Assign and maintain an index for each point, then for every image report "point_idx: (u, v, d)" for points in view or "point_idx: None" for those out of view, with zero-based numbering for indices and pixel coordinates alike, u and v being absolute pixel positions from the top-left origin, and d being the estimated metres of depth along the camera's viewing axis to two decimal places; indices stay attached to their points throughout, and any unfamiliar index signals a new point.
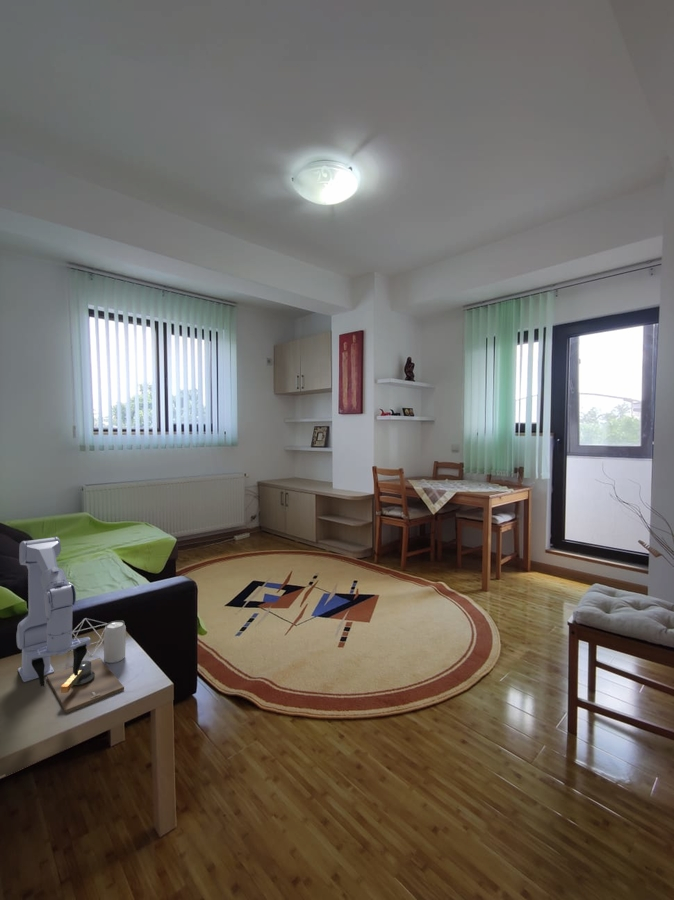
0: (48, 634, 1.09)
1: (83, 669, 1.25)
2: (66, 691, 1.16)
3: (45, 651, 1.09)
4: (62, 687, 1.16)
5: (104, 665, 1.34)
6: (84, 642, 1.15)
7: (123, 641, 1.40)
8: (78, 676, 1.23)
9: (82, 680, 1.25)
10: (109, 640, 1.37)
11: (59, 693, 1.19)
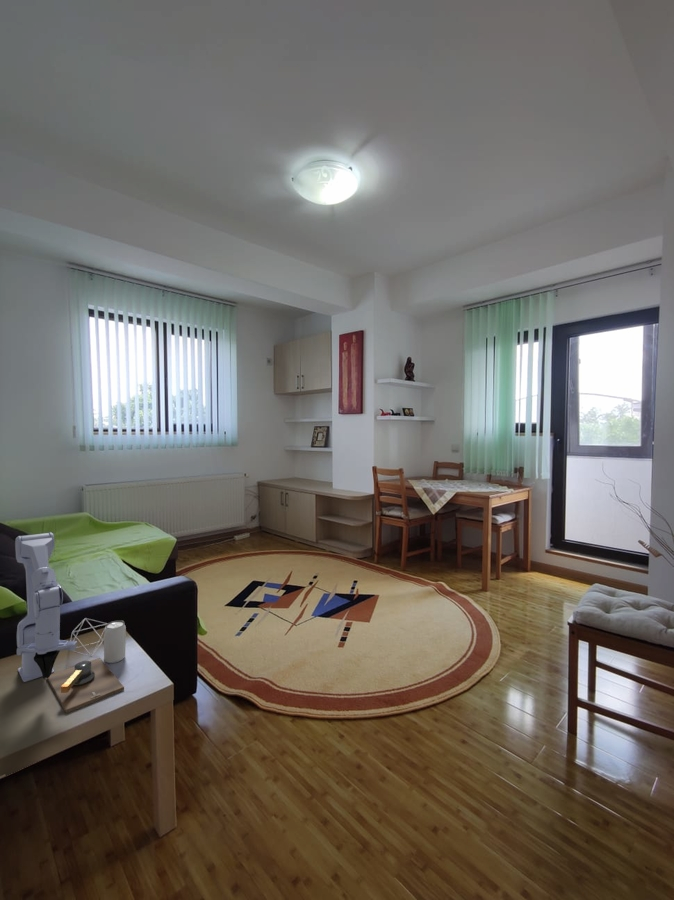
0: (35, 631, 1.16)
1: (83, 669, 1.25)
2: (66, 691, 1.16)
3: (34, 646, 1.16)
4: (62, 687, 1.16)
5: (104, 665, 1.34)
6: (68, 646, 1.18)
7: (123, 641, 1.40)
8: (78, 676, 1.23)
9: (82, 680, 1.25)
10: (109, 640, 1.37)
11: (59, 693, 1.19)
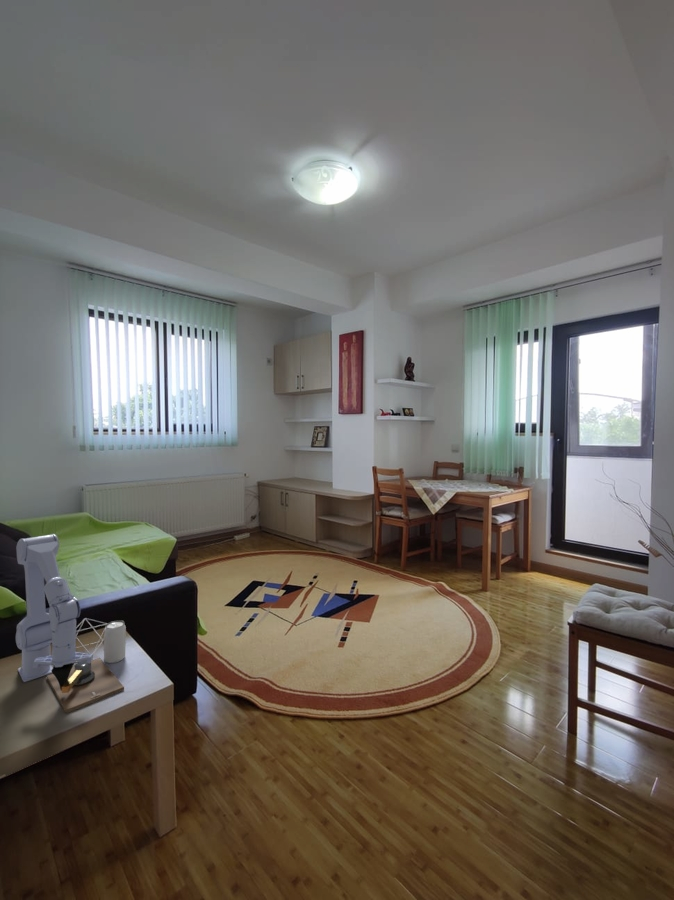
0: (52, 644, 1.17)
1: (83, 669, 1.25)
2: (67, 691, 1.16)
3: (51, 659, 1.17)
4: (63, 687, 1.16)
5: (104, 665, 1.34)
6: (84, 658, 1.19)
7: (123, 641, 1.40)
8: (78, 676, 1.23)
9: (82, 680, 1.25)
10: (109, 640, 1.37)
11: (59, 693, 1.19)
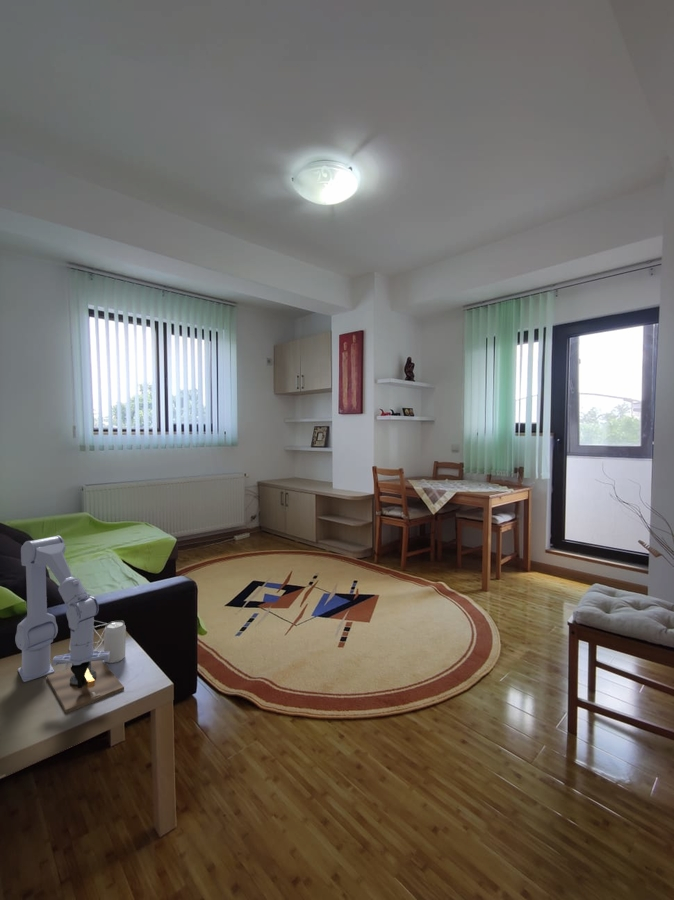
0: None
1: (88, 667, 1.26)
2: (93, 685, 1.20)
3: (69, 657, 1.19)
4: (89, 682, 1.19)
5: (104, 665, 1.34)
6: (101, 657, 1.20)
7: (123, 641, 1.40)
8: None
9: None
10: (109, 640, 1.37)
11: (59, 693, 1.19)
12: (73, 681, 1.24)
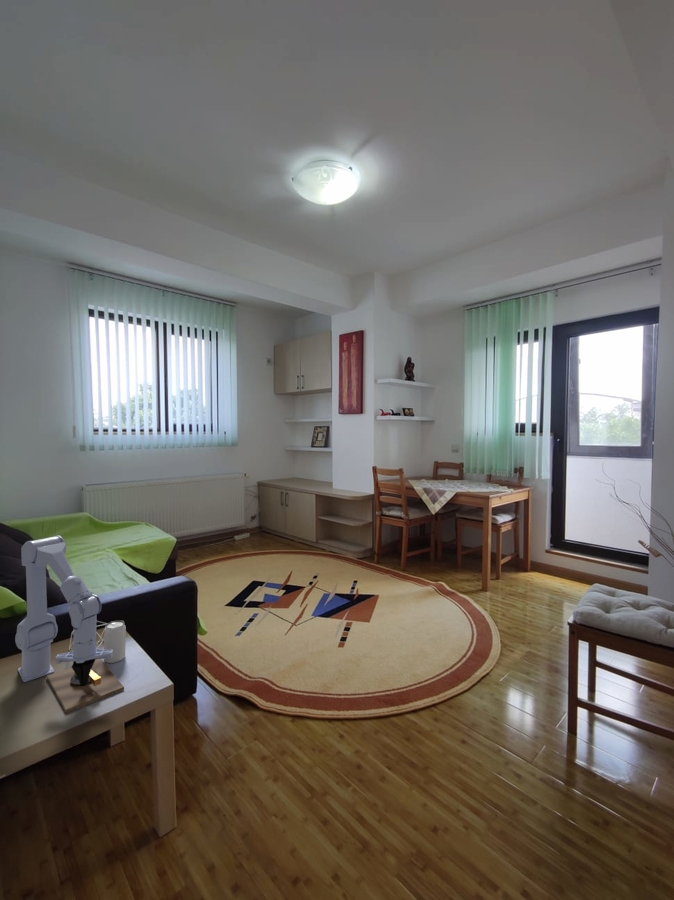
0: (73, 640, 1.18)
1: None
2: (100, 682, 1.21)
3: (72, 655, 1.19)
4: (96, 680, 1.20)
5: (104, 665, 1.34)
6: (104, 654, 1.20)
7: (123, 641, 1.40)
8: None
9: None
10: (109, 640, 1.37)
11: (59, 693, 1.19)
12: (75, 681, 1.24)
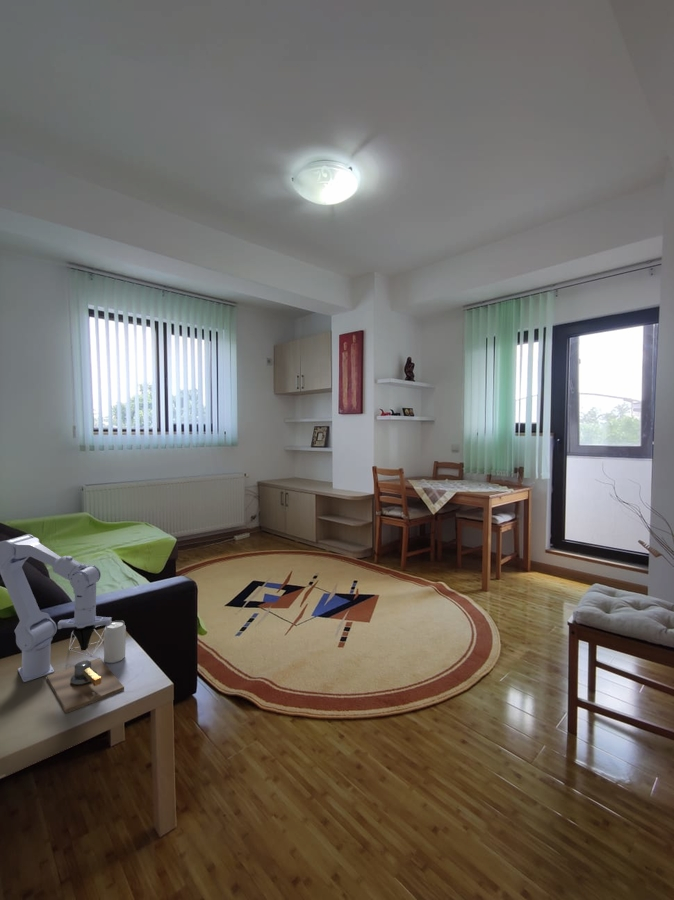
0: None
1: (89, 666, 1.27)
2: (100, 682, 1.21)
3: (73, 621, 1.27)
4: (96, 680, 1.20)
5: (104, 665, 1.34)
6: (103, 621, 1.28)
7: (123, 641, 1.40)
8: None
9: None
10: (109, 640, 1.37)
11: (59, 693, 1.19)
12: (75, 681, 1.24)
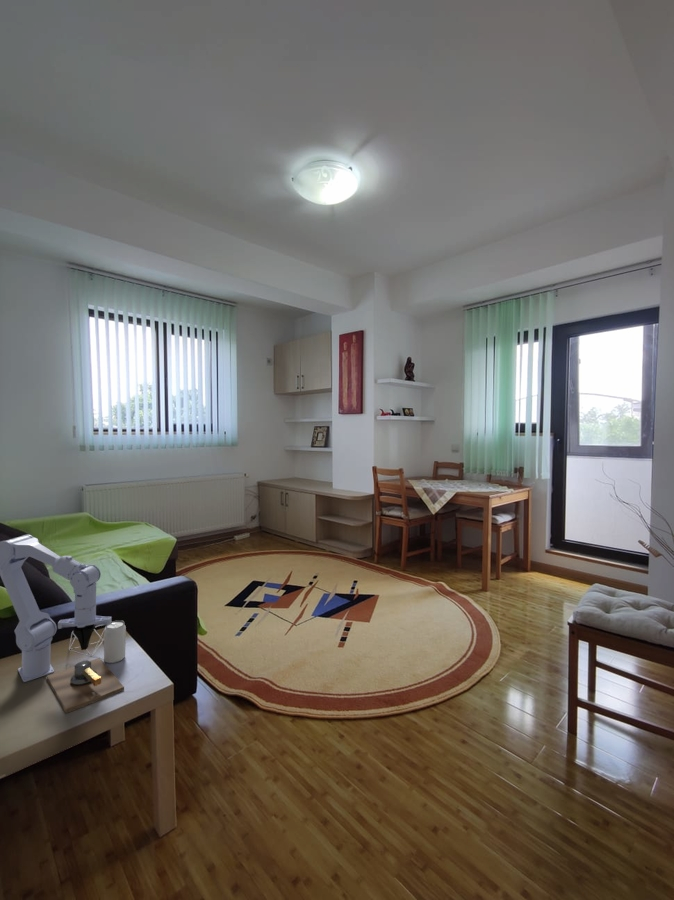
0: None
1: (89, 666, 1.27)
2: (100, 682, 1.21)
3: (73, 621, 1.27)
4: (96, 680, 1.20)
5: (104, 665, 1.34)
6: (104, 621, 1.29)
7: (123, 641, 1.40)
8: None
9: None
10: (109, 640, 1.37)
11: (59, 693, 1.19)
12: (75, 681, 1.24)
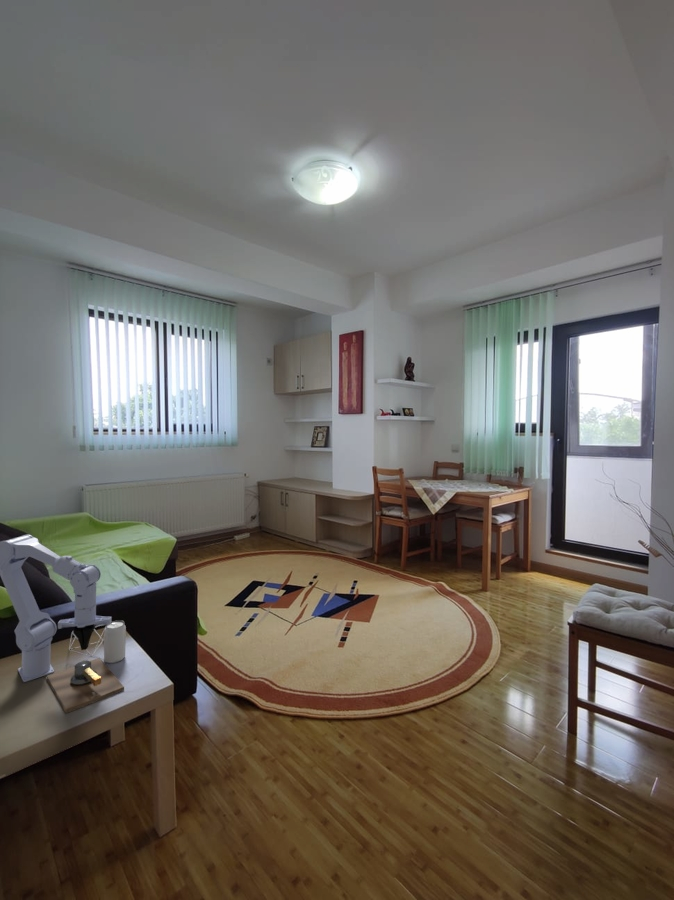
0: None
1: (89, 666, 1.27)
2: (100, 682, 1.21)
3: (73, 621, 1.27)
4: (96, 680, 1.20)
5: (104, 665, 1.34)
6: (104, 621, 1.29)
7: (123, 641, 1.40)
8: None
9: None
10: (109, 640, 1.37)
11: (59, 693, 1.19)
12: (75, 681, 1.24)
